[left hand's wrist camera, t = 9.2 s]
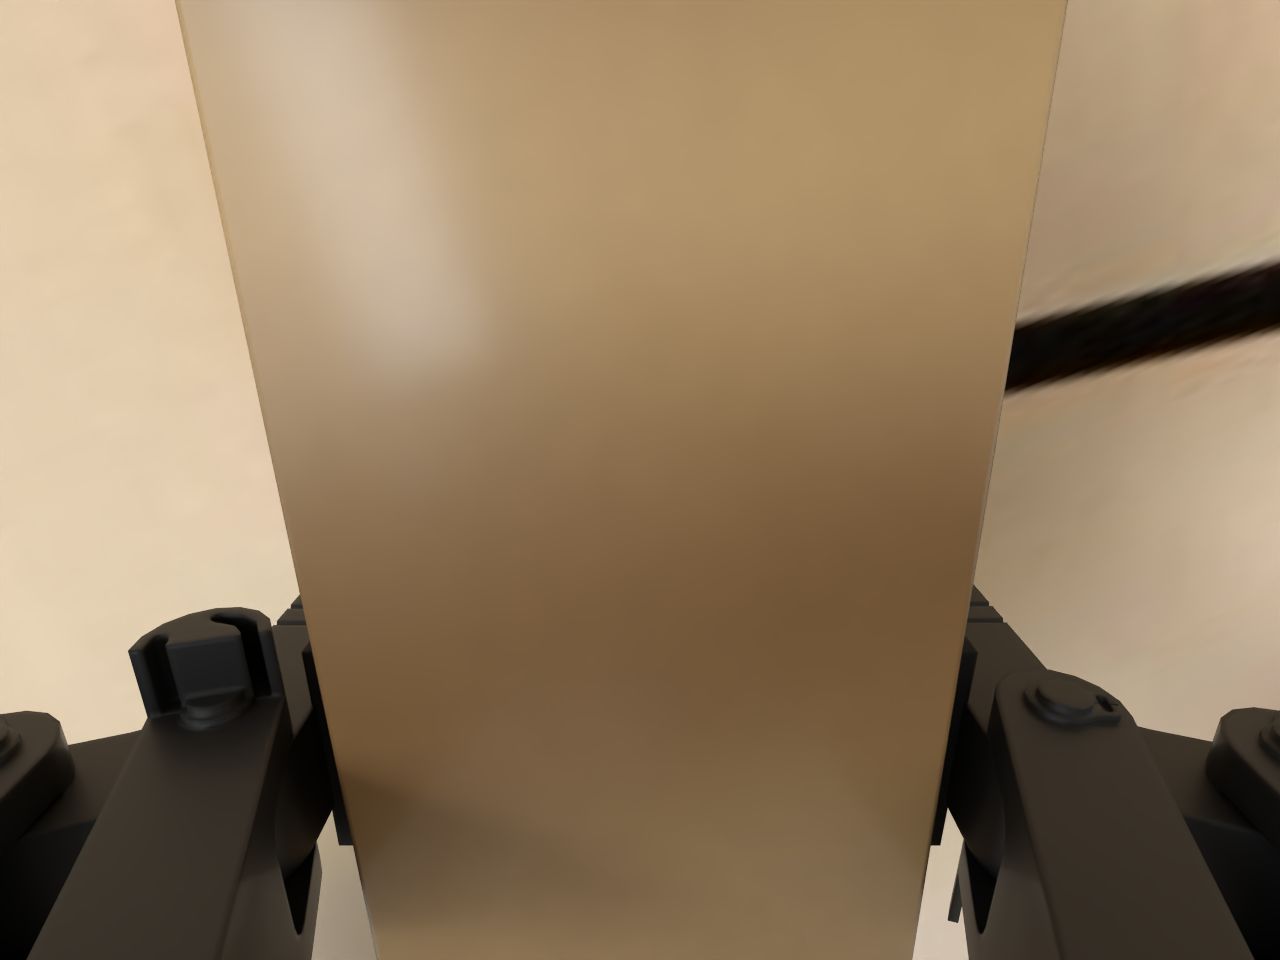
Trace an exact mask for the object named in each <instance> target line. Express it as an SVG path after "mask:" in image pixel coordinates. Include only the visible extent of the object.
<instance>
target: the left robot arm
mask: <svg viewBox="0 0 1280 960" xmlns="http://www.w3.org/2000/svg"><path fill="white" fill-rule="evenodd" d="M128 653H129V656H130V659H131V663H132V666H133V669H134V673H135V676H136V680H137V683H138V686H139V690H140V693H141V696H142V700H143V703H144V706H145V710H146V713H147V717H148V718H147V720H146V722H145V724H144V726H143V728H142V730H139V731H135V732H131V733H126V734H121V735H116V736H111V737H107V738H102V739H97V740H92V741H87V742H82V743H77V744H72V745H68V744H67V741H66V738H65V736H64V733H63V730H62V727H61V724H60V721H58V720H57V719H55V718H54V717H53V716H51V715H50V714H48V713H42V712H33V711H22V712H15V713H7V714H0V960H311V958H312V950H313V942H314V934H315V926H316V918H317V910H318V902H319V894H320V886H321V879H322V868H321V861H320V855H319V850H318V845H317V839H318V837H319V835H320V833H321V831H322V829H323V827H324V825H325V823H326V821H327V819H328V817H329V815H330V813H331V811H333V816H334V821H335V827H336V832H337V837H338V842H339V845H353V843H352V838H351V833H350V828H349V824H348V819H347V814H346V809H345V805H344V800H343V795H342V790H341V786H340V781H339V776H338V771H337V767H336V762H335V757H334V752H333V748H332V743H331V738H330V733H329V729H328V724H327V719H326V715H325V710H324V705H323V700H322V696H321V691H320V686H319V681H318V677H317V672H316V667H315V662H314V658H313V653H312V648H311V643H310V639H309V634H308V629H307V624H306V620H305V615H304V610H303V605H302V601H301V596H300V595H299V596H298V597H297V598H296V600H295V601H294V602H293V603H292V604H291V609H287V610H286V611H285V612H284V614H283V615H282V616H281V617H280V618H279V619H278V621H277V625H273V626H272V627H271V622H270V618H268V617H267V616H265V615H264V614H263V613H261V612H260V611H258V610H252V609H247V608H242V607H233V608H215V609H210V610H206V611H201V612H196V613H192V614H188V615H186V616H183V617H180V618H178V619H175V620H172V621H170V622H167V623H164V624H162V625H161V626H159V627H157V628H156V629H154V630H152V631H150V632H149V633H147V634H145V635H144V636H142V637H141V638H140V639H139V640H138V641H137V642H136V643H135V644H134V645H133V646H132V647H131V648H130V649H129V650H128ZM947 808H949V810H950V812H951V814H952V816H953V818H954V820H955V822H956V824H957V826H958V828H959V830H960V832H961V834H962V836H963V838H964V841H963V845H962V850H961V855H960V860H959V864H958V869H957V874H956V879H955V883H954V888H953V893H952V898H951V902H950V908H949V915H948V921H952V922H956V923H958V921H959V916H960V911H961V907H962V908H963V916H964V924H965V932H966V940H967V948H968V956H969V960H1280V711H1277V710H1270V709H1262V708H1255V707H1252V708H1243V709H1234V710H1231V711H1230V712H1228V713H1227V714H1226V715H1224V716H1223V717H1221V719H1220V722H1219V725H1218V728H1217V730H1216V733H1215V736H1214V739H1213V742H1210V741H1205V740H1200V739H1195V738H1190V737H1185V736H1180V735H1175V734H1170V733H1165V732H1160V731H1155V730H1150V729H1146V728H1142V727H1139V726H1137V725H1136V723H1135V721H1134V719H1133V717H1132V716H1131V714H1130V713H1129V712H1128V711H1127V709H1126V708H1125V707H1124V706H1123V704H1122V703H1121V702H1120V701H1119V700H1118V699H1116V698H1115V697H1113V696H1112V695H1110V694H1109V693H1107V692H1106V691H1105V690H1103V689H1102V688H1100V687H1099V686H1096V685H1094V684H1092V683H1089V682H1087V681H1085V680H1083V679H1080V678H1078V677H1076V676H1073V675H1069V674H1065V673H1061V672H1057V671H1053V670H1047V669H1046V668H1045V667H1044V665H1043V664H1042V663H1041V662H1040V661H1039V660H1038V658H1037V657H1036V656H1035V655H1034V654H1033V653H1032V652H1031V650H1030V649H1029V648H1028V647H1027V646H1026V645H1025V643H1024V642H1023V641H1022V640H1021V639H1020V638H1019V637H1018V635H1017V634H1016V633H1015V632H1014V631H1013V630H1012V628H1011V627H1010V626H1009V625H1008V624H1007V623H1003V618H1002V617H1001V616H1000V615H999V613H998V612H997V611H996V610H995V609H994V608H993V606H989V602H988V601H987V600H986V598H985V597H984V596H983V595H982V594H981V593H980V591H979V590H978V589H977V588H976V587H975V586H974V585H973V587H972V593H971V600H970V606H969V612H968V618H967V624H966V630H965V637H964V643H963V649H962V655H961V661H960V667H959V673H958V680H957V686H956V692H955V698H954V704H953V710H952V717H951V723H950V729H949V735H948V741H947V747H946V754H945V760H944V766H943V772H942V778H941V784H940V791H939V797H938V803H937V809H936V815H935V821H934V828H933V834H932V840H931V845H940V844H941V839H942V834H943V829H944V823H945V818H946V813H947Z"/></svg>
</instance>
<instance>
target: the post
mask: <svg viewBox="0 0 1280 960" xmlns="http://www.w3.org/2000/svg"><path fill="white" fill-rule="evenodd" d="M1067 2H1068V0H175V3H176V8H177V13H178V17H179V22H180V27H181V32H182V36H183V41H184V46H185V51H186V55H187V60H188V65H189V70H190V74H191V79H192V84H193V89H194V93H195V98H196V103H197V108H198V112H199V117H200V122H201V127H202V131H203V136H204V141H205V145H206V150H207V155H208V160H209V164H210V169H211V174H212V179H213V183H214V188H215V193H216V198H217V202H218V207H219V212H220V217H221V221H222V226H223V231H224V236H225V240H226V245H227V250H228V255H229V259H230V264H231V269H232V274H233V278H234V283H235V288H236V292H237V297H238V302H239V307H240V311H241V316H242V321H243V326H244V330H245V335H246V340H247V345H248V349H249V354H250V359H251V364H252V368H253V373H254V378H255V383H256V387H257V392H258V397H259V402H260V406H261V411H262V416H263V421H264V425H265V430H266V435H267V439H268V444H269V449H270V454H271V458H272V463H273V468H274V473H275V477H276V482H277V487H278V492H279V496H280V501H281V506H282V511H283V515H284V520H285V525H286V530H287V534H288V539H289V544H290V549H291V553H292V558H293V563H294V568H295V572H296V577H297V582H298V586H299V591H300V596H301V601H302V605H303V610H304V615H305V620H306V624H307V629H308V634H309V639H310V643H311V648H312V653H313V658H314V662H315V667H316V672H317V677H318V681H319V686H320V691H321V696H322V700H323V705H324V710H325V715H326V719H327V724H328V729H329V733H330V738H331V743H332V748H333V752H334V757H335V762H336V767H337V771H338V776H339V781H340V786H341V790H342V795H343V800H344V805H345V809H346V814H347V819H348V824H349V828H350V833H351V838H352V843H353V847H354V852H355V857H356V862H357V866H358V871H359V876H360V880H361V885H362V890H363V895H364V899H365V904H366V909H367V914H368V918H369V923H370V928H371V933H372V937H373V942H374V947H375V952H376V956H377V960H912V957H913V951H914V945H915V938H916V932H917V926H918V920H919V914H920V908H921V901H922V895H923V889H924V883H925V877H926V871H927V865H928V858H929V852H930V846H931V840H932V834H933V828H934V821H935V815H936V809H937V803H938V797H939V791H940V784H941V778H942V772H943V766H944V760H945V754H946V747H947V741H948V735H949V729H950V723H951V717H952V710H953V704H954V698H955V692H956V686H957V680H958V673H959V667H960V661H961V655H962V649H963V643H964V637H965V630H966V624H967V618H968V612H969V606H970V600H971V593H972V587H973V581H974V575H975V569H976V563H977V556H978V550H979V544H980V538H981V532H982V526H983V519H984V513H985V507H986V501H987V495H988V489H989V482H990V476H991V470H992V464H993V458H994V452H995V445H996V439H997V433H998V427H999V421H1000V415H1001V408H1002V402H1003V396H1004V390H1005V384H1006V378H1007V372H1008V365H1009V359H1010V353H1011V347H1012V341H1013V335H1014V328H1015V322H1016V316H1017V310H1018V304H1019V298H1020V291H1021V285H1022V279H1023V273H1024V267H1025V261H1026V254H1027V248H1028V242H1029V236H1030V230H1031V224H1032V217H1033V211H1034V205H1035V199H1036V193H1037V187H1038V180H1039V174H1040V168H1041V162H1042V156H1043V150H1044V143H1045V137H1046V131H1047V125H1048V119H1049V113H1050V107H1051V100H1052V94H1053V88H1054V82H1055V76H1056V70H1057V63H1058V57H1059V51H1060V45H1061V39H1062V33H1063V26H1064V20H1065V14H1066V8H1067Z"/></svg>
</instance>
